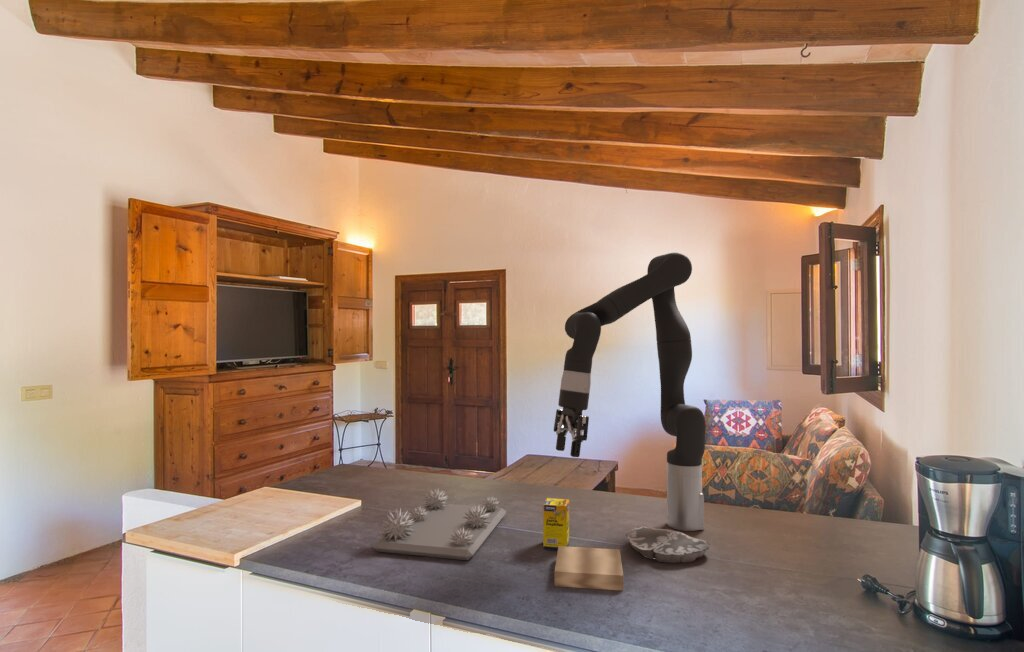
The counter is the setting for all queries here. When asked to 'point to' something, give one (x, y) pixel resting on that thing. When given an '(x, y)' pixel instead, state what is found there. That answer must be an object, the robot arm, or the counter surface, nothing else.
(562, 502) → the supplement box
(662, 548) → the brain slice
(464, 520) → the decorative tray
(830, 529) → the counter surface
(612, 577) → the oak base board
